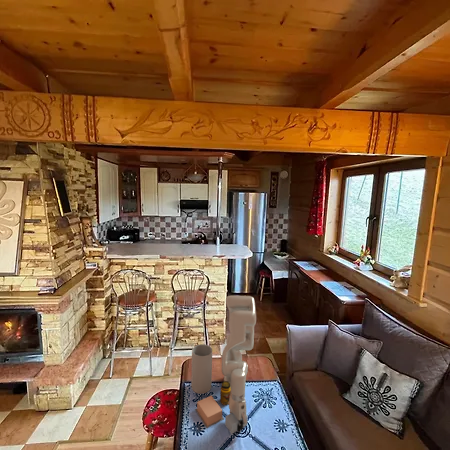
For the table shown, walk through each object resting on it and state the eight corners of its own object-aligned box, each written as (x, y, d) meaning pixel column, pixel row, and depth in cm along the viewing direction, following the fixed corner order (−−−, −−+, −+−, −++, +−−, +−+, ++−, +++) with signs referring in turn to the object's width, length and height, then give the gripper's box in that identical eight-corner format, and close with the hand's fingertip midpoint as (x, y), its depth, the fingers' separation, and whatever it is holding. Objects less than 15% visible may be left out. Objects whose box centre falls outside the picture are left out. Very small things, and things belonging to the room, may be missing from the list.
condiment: (229, 408, 152) (229, 389, 150) (215, 404, 154) (215, 385, 153) (232, 399, 159) (233, 380, 157) (219, 395, 161) (219, 377, 160)
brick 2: (240, 417, 146) (240, 408, 145) (247, 426, 141) (247, 416, 140) (225, 426, 140) (225, 416, 140) (231, 435, 136) (232, 424, 135)
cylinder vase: (187, 391, 164) (188, 353, 161) (197, 377, 176) (197, 342, 172) (206, 397, 160) (207, 358, 156) (214, 383, 171) (215, 347, 168)
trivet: (211, 402, 156) (211, 401, 156) (224, 420, 144) (224, 419, 144) (194, 410, 150) (194, 409, 150) (206, 429, 138) (206, 428, 138)
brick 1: (197, 409, 149) (197, 401, 149) (211, 403, 154) (211, 395, 154) (207, 426, 139) (207, 417, 139) (222, 418, 144) (222, 410, 144)
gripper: (253, 402, 133) (252, 434, 135) (234, 381, 148) (233, 410, 150) (241, 408, 129) (240, 441, 131) (222, 386, 144) (221, 416, 146)
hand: (236, 424), depth 141 cm, fingers closed on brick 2, 6 cm apart
